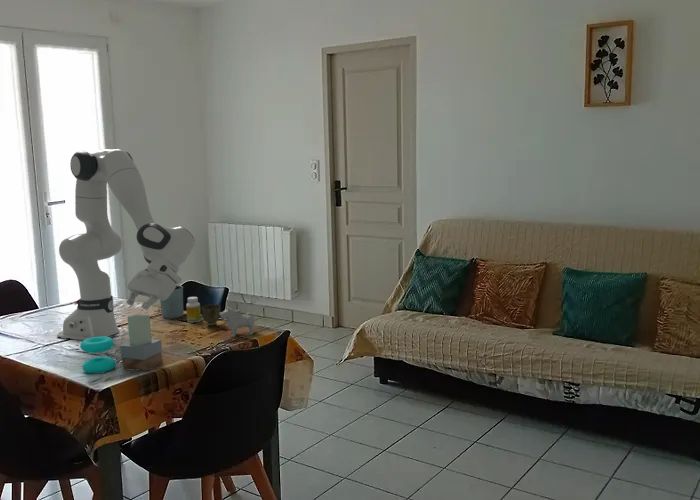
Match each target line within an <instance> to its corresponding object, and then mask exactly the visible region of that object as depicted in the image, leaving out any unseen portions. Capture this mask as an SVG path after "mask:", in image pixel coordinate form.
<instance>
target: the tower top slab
mask: <svg viewBox="0 0 700 500" xmlns="http://www.w3.org/2000/svg"><path fill="white" fill-rule="evenodd" d="M119 346H120V357H121V359H123V358H131V359H140V360H145V359H147V358H149V357H152V356H154V355H156V354H158V353H160V352H161V353H162V352H163V348H162V339H157V338H152V342H150V343H147V344H143V345H139V346H137V345H134V344H131V343H130V341H128V342H125V343H124V344H121V345H119Z"/></svg>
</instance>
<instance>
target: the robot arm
mask: <svg viewBox="0 0 700 500" xmlns="http://www.w3.org/2000/svg"><path fill="white" fill-rule="evenodd" d="M69 166H70V171H71V173H72V175H73V176H74V178H75V179H76V180H75V181H76V182H75V189H74V190H75V194H74V195H75V202H74V204H75V206H74V207H75V216H76V218H77V220H78V221H80V222H81V223H83V224H84V225H85V230H86V232H85V233H80V234H79V233H78V234H73V235H72V236H71V235H70V236H69V237H67V238H65V239H63V240H62V241H61V242H60V244H59V247H58V252H59V253H58V254H59V257H60V259H61V260H62V261H63V262H64V263H65V264H67V265H69V266H70V267H71V269H72V270H73V271H74V273H75V275H76V278H77V282H78V288H79V295H80V298H79V299H77V300H75V301H74V302H73V303H74V306H75V305H77V307H76V309H75V310H73V311H72V312H71V313H70V314H69V315H68V316H67V317H65V319H64V320H63V325H62V330H60V331H59V332H58V333H57V334H56V338H57V337H62V338H61V339H66V338H70V339H69V340H79V341H84V340H85V339H88V338H92V337H98V336H106V337H111V336H113V335H116V334H118V333H119V332H120V330H119V327H118V324H117V321H116V317H115V312H114V310H115V309H114V297H113V295H112V290H111V289H112V287H111V278H110V275H109V274H108V273H107V272H105V271H103V270H101V268H100V266H99V263H98V262H99V261H103V260H107V259H110V258H112V257H114V256H116V255H118V254H119V253H120V252H121V250H122V247H123V246H122V244H123V243H122V238H121V237H120V235H119V234H118V233H117V232H116V231H115V230H114V229H113V228H112V226H111V223H110V220H109V216H108V215H109V214H108V187H107V186H108V185H109V187H110V189H111V192H112V194H113V195H114V196H115V198H116V199H117V200H118V202H119V204H121V206H122V207H123V209H124V210H125V211H126V212H127V213H128V215H129V217H131V219H132V221H133V223H134V225H135V228H136V230H137V232H136V240H137V243H138V246H139V248H140V250H141V252H142V255H143V258H144V260H145V261H146V262H147V264H148V266H147V267H146V268H145V269H143V270H140V271H138V272H137V273H136V274H135V275H134V277H132V279H131V280H130V281H129V283H128V284H127V286H126V288H127V289H128V290H129V291H130V292H129V297H128V299H126V304H128V305H129V306H133V305H134V304H135V302H136V301H135V299H136V298H137V297H138V296H139V295H140V296H144V297H148V299H147V300H146V301H144V302H143V303H142V305H141V308H142V309H144V310H146V311H147V310H149V308H150V307H151V306H152V305H154V304H155V303H156V302H157V301H158V300H159V301H160V300H162V301H164V300H166V299H167V298H168V297H169V296H170V295H171V294H172V292H173V291H174V289H175V288H176V285H179V284H180V283H181V282H182V280H183V279H182V277H181V276H179V274H177V273H179V270H180V268H181V265H183V264H184V263H185V262H186V261H187V259H188V258H189V257H190V255H191V253H192V251H193V249H194V247H195V245H196V240H195V237H194V235H193V234H192V233H191V232H190V231H189V230H188V229H186V228H185V227H182V226H177V227H169V226H165V225H160V224H158V223H155V221H154V218H153V217H152V214H151V211H150V207H149V203H148V198H147V193H146V188H145V183H144V181H143V177H142V175H141V173H140V171H139V170H138V168H137V165H136V164H135V162H134V159H133V157H132V155H131V153H129V152H127V151H125V150H122V149H119V148H116V149H115V148H114V149H94V150H80V151H76V152H75V153H74V154H72V156H71V159H70V165H69Z"/></svg>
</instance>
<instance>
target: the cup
mask: <svg viewBox="0 0 700 500" xmlns="http://www.w3.org/2000/svg"><path fill="white" fill-rule="evenodd" d="M220 304H221V303H220ZM220 304H218V303H216V304H215V305H214V304H213V303H209V304H205V305H202V306H200V311H201V313H202V315H201V316H202V318H203V320H204V322H206V323H207V326H208V327H215V326H216V325H217V324H218V323H217V322H218V321H219V319H220V318H221V316H220V314H219V313H220V312H221V305H220Z"/></svg>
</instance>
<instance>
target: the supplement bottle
mask: <svg viewBox="0 0 700 500" xmlns="http://www.w3.org/2000/svg"><path fill="white" fill-rule="evenodd" d="M198 301H199V299H198V297H197V296H189V297H187V303H186V306H185V308H186V320H187V323H189V322H190V324H195V323H194V322H196V323H200V322H201V321H202V317H201V316H202V315H201V313H202V311H201V303H200V302H198Z"/></svg>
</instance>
